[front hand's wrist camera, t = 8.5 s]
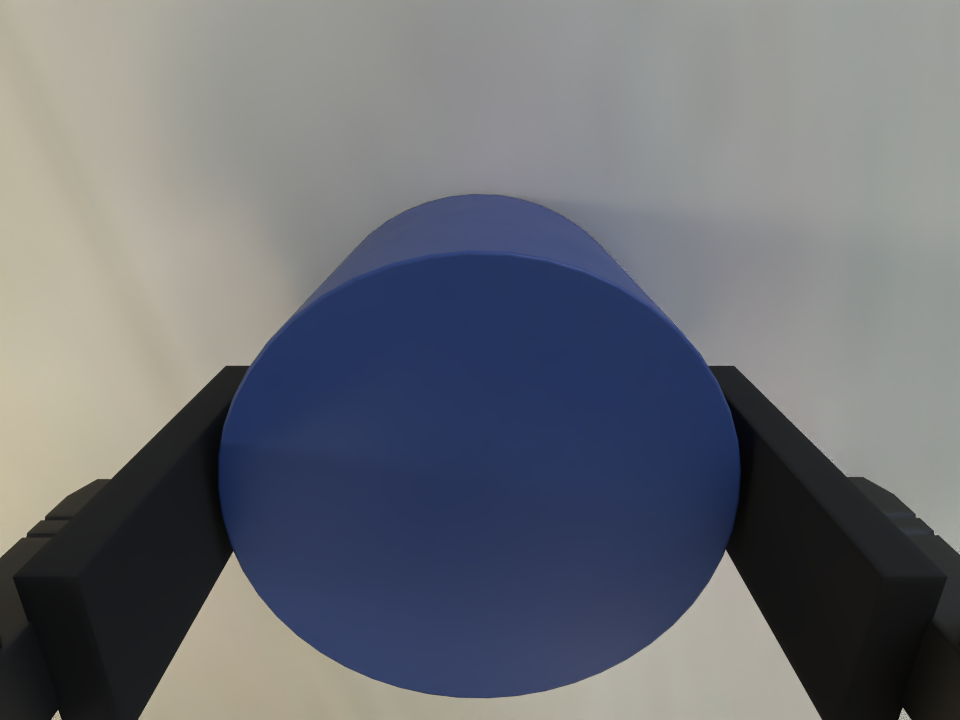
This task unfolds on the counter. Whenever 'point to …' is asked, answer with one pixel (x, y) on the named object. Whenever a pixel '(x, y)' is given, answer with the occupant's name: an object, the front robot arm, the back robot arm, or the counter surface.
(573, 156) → the counter surface
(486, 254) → the canister
